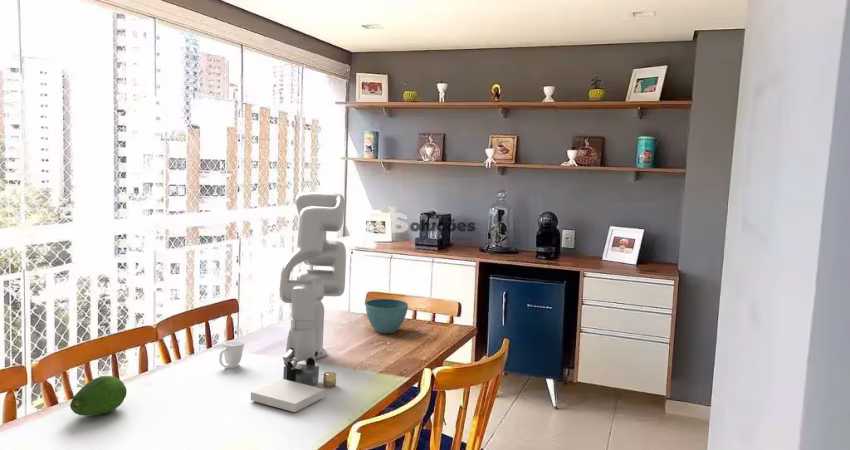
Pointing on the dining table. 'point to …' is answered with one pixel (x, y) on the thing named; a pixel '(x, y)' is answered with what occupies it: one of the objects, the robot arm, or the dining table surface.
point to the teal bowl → (386, 314)
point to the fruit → (99, 396)
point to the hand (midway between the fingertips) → (300, 376)
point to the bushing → (329, 380)
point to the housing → (305, 374)
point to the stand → (287, 395)
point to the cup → (232, 353)
